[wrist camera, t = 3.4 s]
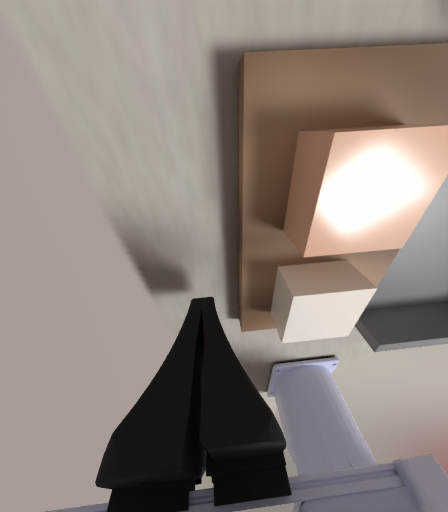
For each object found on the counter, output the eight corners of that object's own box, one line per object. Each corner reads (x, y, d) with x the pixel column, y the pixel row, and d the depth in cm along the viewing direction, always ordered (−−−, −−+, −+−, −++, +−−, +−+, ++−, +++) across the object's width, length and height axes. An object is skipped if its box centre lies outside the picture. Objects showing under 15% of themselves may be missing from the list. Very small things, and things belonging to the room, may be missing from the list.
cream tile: (327, 306, 14) (348, 336, 12) (270, 312, 14) (281, 343, 12) (347, 260, 12) (377, 288, 10) (277, 266, 11) (293, 296, 9)
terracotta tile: (362, 224, 10) (402, 248, 8) (283, 230, 10) (303, 257, 8) (405, 124, 8) (479, 123, 5) (298, 131, 7) (334, 132, 5)
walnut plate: (347, 308, 17) (356, 319, 16) (239, 319, 16) (241, 331, 15) (485, 51, 7) (528, 39, 6) (238, 62, 7) (244, 52, 6)
